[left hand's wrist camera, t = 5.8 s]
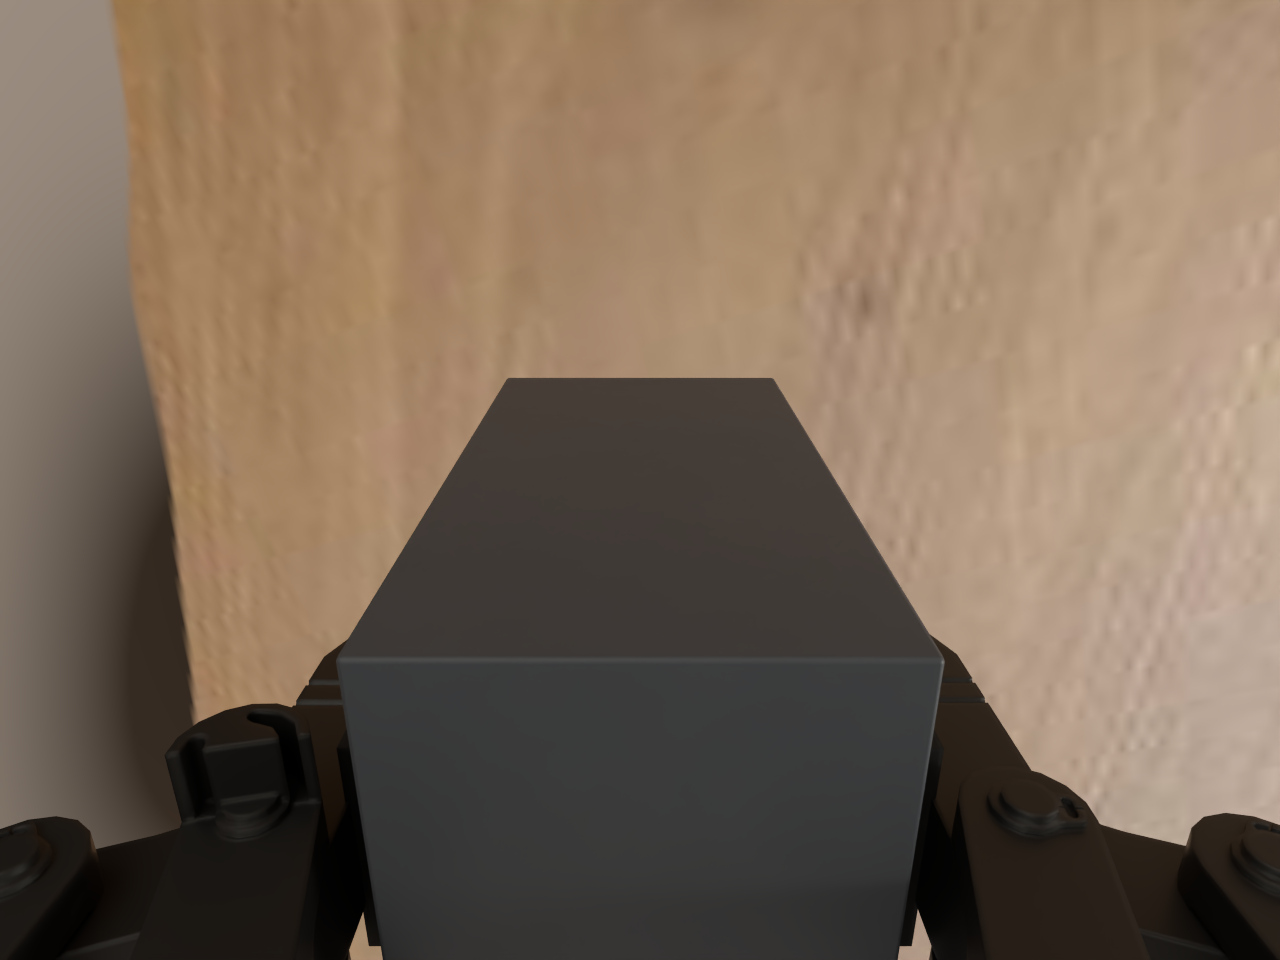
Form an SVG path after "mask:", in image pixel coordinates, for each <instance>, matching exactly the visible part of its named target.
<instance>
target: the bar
mask: <svg viewBox="0 0 1280 960" xmlns="http://www.w3.org/2000/svg"><path fill="white" fill-rule="evenodd" d="M944 662H945V661H944V658H943V656H942V654H941V652H940V651H939V649H938V648H937V646H936V644H935V643H934V641H933V639H932V638H931V636H930V634H929V633H928V631H927V630H926V628H925V626H924V625H923V623H922V621H921V620H920V618H919V616H918V615H917V613H916V612H915V610H914V608H913V607H912V605H911V603H910V602H909V600H908V598H907V597H906V595H905V594H904V592H903V590H902V589H901V587H900V585H899V584H898V582H897V580H896V579H895V577H894V576H893V574H892V572H891V571H890V569H889V567H888V566H887V564H886V562H885V561H884V559H883V558H882V556H881V554H880V553H879V551H878V549H877V548H876V546H875V544H874V543H873V541H872V539H871V538H870V536H869V535H868V533H867V531H866V530H865V528H864V526H863V525H862V523H861V521H860V520H859V518H858V517H857V515H856V513H855V512H854V510H853V508H852V507H851V505H850V503H849V502H848V500H847V499H846V497H845V495H844V494H843V492H842V490H841V489H840V487H839V485H838V484H837V482H836V481H835V479H834V477H833V476H832V474H831V472H830V471H829V469H828V467H827V466H826V464H825V463H824V461H823V459H822V458H821V456H820V454H819V453H818V451H817V449H816V448H815V446H814V445H813V443H812V441H811V440H810V438H809V436H808V435H807V433H806V431H805V430H804V428H803V427H802V425H801V423H800V422H799V420H798V418H797V417H796V415H795V413H794V412H793V410H792V409H791V407H790V405H789V404H788V402H787V400H786V399H785V397H784V395H783V394H782V392H781V391H780V389H779V387H778V386H777V384H776V382H775V381H774V379H772V378H508V379H507V380H506V382H505V384H504V385H503V387H502V388H501V390H500V392H499V393H498V395H497V397H496V398H495V400H494V401H493V403H492V405H491V406H490V408H489V410H488V411H487V413H486V415H485V416H484V418H483V419H482V421H481V423H480V424H479V426H478V428H477V429H476V431H475V433H474V434H473V436H472V437H471V439H470V441H469V442H468V444H467V446H466V447H465V449H464V451H463V452H462V454H461V455H460V457H459V459H458V460H457V462H456V464H455V465H454V467H453V469H452V470H451V472H450V473H449V475H448V477H447V478H446V480H445V482H444V483H443V485H442V487H441V488H440V490H439V491H438V493H437V495H436V496H435V498H434V500H433V501H432V503H431V505H430V506H429V508H428V509H427V511H426V513H425V514H424V516H423V518H422V519H421V521H420V523H419V524H418V526H417V527H416V529H415V531H414V532H413V534H412V536H411V537H410V539H409V541H408V542H407V544H406V545H405V547H404V549H403V550H402V552H401V554H400V555H399V557H398V558H397V560H396V562H395V563H394V565H393V567H392V568H391V570H390V572H389V573H388V575H387V576H386V578H385V580H384V581H383V583H382V585H381V586H380V588H379V590H378V591H377V593H376V594H375V596H374V598H373V599H372V601H371V603H370V604H369V606H368V608H367V609H366V611H365V612H364V614H363V616H362V617H361V619H360V621H359V622H358V624H357V626H356V627H355V629H354V630H353V632H352V634H351V635H350V637H349V639H348V640H347V642H346V644H345V645H344V647H343V648H342V650H341V652H340V653H339V655H338V657H337V660H336V664H337V671H338V677H339V683H340V690H341V696H342V702H343V709H344V715H345V721H346V728H347V734H348V740H349V747H350V753H351V760H352V766H353V772H354V779H355V785H356V791H357V798H358V804H359V810H360V817H361V823H362V829H363V836H364V842H365V848H366V855H367V861H368V868H369V874H370V880H371V887H372V893H373V899H374V906H375V912H376V918H377V925H378V931H379V937H380V944H381V950H382V956H383V960H898V953H899V947H900V941H901V934H902V928H903V922H904V915H905V909H906V903H907V896H908V890H909V884H910V878H911V871H912V865H913V859H914V852H915V846H916V840H917V833H918V827H919V821H920V814H921V808H922V802H923V795H924V789H925V783H926V776H927V770H928V764H929V757H930V751H931V745H932V738H933V732H934V726H935V719H936V713H937V707H938V700H939V694H940V688H941V681H942V675H943V669H944Z"/></svg>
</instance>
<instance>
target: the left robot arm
mask: <svg viewBox="0 0 1280 960" xmlns="http://www.w3.org/2000/svg"><path fill="white" fill-rule="evenodd" d="M930 636H931V635H930ZM931 638H932V639H933V641H934V643H935V644H936V646H937V648H938V649H939V651H940V652H941V654H942V656H943V658H944V661H945V662H944V669H943V675H942V681H941V688H940V694H939V700H938V707H937V713H936V719H935V726H934V732H933V738H932V745H931V751H930V757H929V764H928V770H927V776H926V783H925V789H924V795H923V802H922V808H921V814H920V821H919V827H918V833H917V840H916V846H915V852H914V859H913V865H912V871H911V878H910V884H909V890H908V896H907V903H906V909H905V915H904V922H903V928H902V934H901V941H900V946H912V940H913V934H914V928H915V922H916V916H917V910H919V913H920V916H921V919H922V921H923V924H924V927H925V929H926V932H927V935H928V937H929V940H930V943H931V945H932V946H931V952H930V958H929V960H1280V825H1278V824H1275V823H1272V822H1269V821H1266V820H1263V819H1260V818H1257V817H1253V816H1245V815H1238V814H1230V813H1223V814H1217V815H1212V816H1206V817H1203V818H1202V819H1201V820H1200V821H1199V822H1198V823H1197V824H1195V825H1194V826H1193V827H1192V828H1191V832H1190V835H1189V838H1188V841H1187V844H1186V846H1183V845H1179V844H1174V843H1170V842H1166V841H1162V840H1157V839H1153V838H1149V837H1144V836H1140V835H1136V834H1131V833H1127V832H1123V831H1120V830H1117V829H1113V828H1110V827H1107V826H1104V825H1101V824H1099V822H1098V820H1097V819H1096V817H1095V815H1094V814H1093V812H1092V811H1091V809H1090V808H1089V806H1088V805H1087V803H1086V802H1085V801H1084V800H1083V799H1081V798H1080V797H1079V796H1078V795H1077V794H1075V793H1074V792H1073V791H1072V790H1070V789H1069V788H1068V787H1067V786H1065V785H1063V784H1061V783H1059V782H1057V781H1055V780H1053V779H1051V778H1049V777H1047V776H1045V775H1043V774H1042V773H1038V772H1034V771H1031V769H1030V768H1029V766H1028V765H1027V763H1026V761H1025V760H1024V758H1023V757H1022V755H1021V754H1020V752H1019V750H1018V749H1017V747H1016V746H1015V744H1014V743H1013V741H1012V740H1011V738H1010V736H1009V735H1008V733H1007V732H1006V730H1005V729H1004V727H1003V726H1002V724H1001V722H1000V721H999V719H998V718H997V716H996V715H995V713H994V711H993V710H992V708H991V707H990V705H989V704H988V703H985V697H984V696H983V694H982V693H981V691H980V690H979V688H978V687H977V685H976V683H972V677H971V676H970V674H969V672H968V671H967V669H966V668H965V666H964V665H963V663H962V662H961V660H960V658H959V657H958V655H957V654H956V653H954V652H953V651H952V650H950V649H949V648H948V647H946V646H945V645H944V644H942V643H941V642H939V641H938V640H937V639H935V638H934V637H933V636H931ZM346 642H347V640H346V641H345V642H344V643H342V644H341V645H340V646H338V647H337V648H336V649H334V650H333V651H331V652H330V653H329V654H327V655H326V656H325V657H324V658H323V660H322V661H321V663H320V664H319V666H318V667H317V669H316V671H315V672H314V674H313V675H312V677H311V678H310V680H309V685H306V686H305V688H304V689H303V691H302V692H301V694H300V696H299V697H298V699H297V700H296V706H293V707H292V708H291V707H288V706H284V705H280V704H250V705H246V706H242V707H238V708H233V709H229V710H225V711H223V712H220V713H218V714H216V715H214V716H211V717H209V718H207V719H205V720H202V721H200V722H198V723H197V724H196V725H194V726H193V727H192V728H190V729H189V730H187V731H186V732H185V733H183V734H182V735H181V736H179V737H178V738H177V739H176V740H175V742H174V743H173V745H172V746H171V747H170V748H169V750H168V751H167V752H166V754H165V759H166V762H167V766H168V770H169V774H170V778H171V782H172V786H173V790H174V793H175V797H176V801H177V805H178V809H179V813H180V817H181V820H182V823H181V826H180V828H178V829H175V830H172V831H169V832H165V833H162V834H159V835H155V836H151V837H147V838H142V839H138V840H134V841H129V842H125V843H121V844H117V845H112V846H108V847H104V848H99V849H95V845H94V842H93V839H92V836H91V833H90V831H89V830H88V829H87V828H86V827H85V826H84V825H83V824H82V823H80V822H79V821H78V820H74V819H68V818H63V817H57V816H55V817H47V818H39V819H31V820H26V821H23V822H20V823H17V824H14V825H11V826H8V827H5V828H2V829H0V960H351V958H350V952H349V949H350V946H351V943H352V940H353V938H354V935H355V932H356V930H357V927H358V924H359V921H360V919H361V916H362V913H364V919H365V925H366V931H367V937H368V943H369V946H381V944H380V937H379V931H378V925H377V918H376V912H375V906H374V899H373V893H372V887H371V880H370V874H369V868H368V861H367V855H366V848H365V842H364V836H363V829H362V823H361V817H360V810H359V804H358V798H357V791H356V785H355V779H354V772H353V766H352V760H351V753H350V747H349V740H348V734H347V728H346V721H345V715H344V709H343V702H342V696H341V690H340V683H339V677H338V671H337V664H336V660H337V657H338V655H339V653H340V652H341V650H342V648H343V647H344V645H345V644H346Z"/></svg>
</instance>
